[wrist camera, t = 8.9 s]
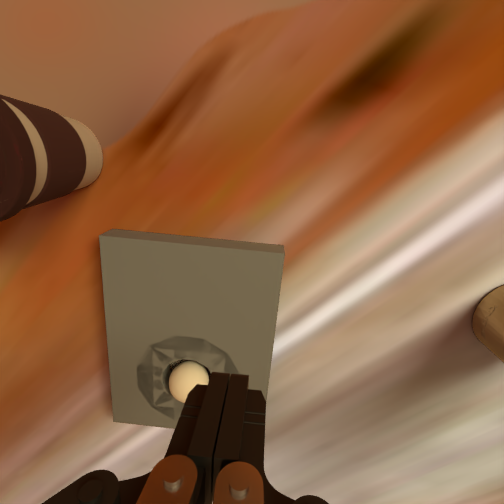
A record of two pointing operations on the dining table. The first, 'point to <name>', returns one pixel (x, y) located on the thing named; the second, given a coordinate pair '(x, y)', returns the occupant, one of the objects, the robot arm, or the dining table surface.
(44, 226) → the dining table surface
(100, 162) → the coffee cup
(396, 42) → the dining table surface
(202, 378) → the ball
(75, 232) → the dining table surface
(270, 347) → the grey flat block
